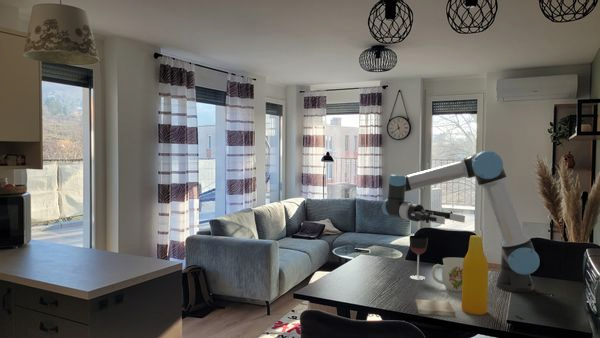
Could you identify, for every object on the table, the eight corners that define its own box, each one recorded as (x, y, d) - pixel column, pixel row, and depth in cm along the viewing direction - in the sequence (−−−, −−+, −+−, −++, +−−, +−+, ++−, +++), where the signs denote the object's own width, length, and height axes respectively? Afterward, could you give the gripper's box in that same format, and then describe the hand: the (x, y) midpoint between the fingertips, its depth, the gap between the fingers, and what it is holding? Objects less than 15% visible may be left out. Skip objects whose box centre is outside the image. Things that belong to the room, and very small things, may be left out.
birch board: (448, 305, 172) (448, 301, 172) (455, 316, 160) (455, 312, 160) (415, 303, 174) (415, 299, 174) (419, 313, 162) (419, 309, 162)
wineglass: (427, 280, 206) (428, 238, 206) (409, 279, 208) (409, 238, 207) (426, 275, 214) (427, 235, 213) (408, 274, 216) (409, 235, 215)
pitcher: (428, 284, 199) (429, 255, 199) (468, 286, 198) (469, 256, 198) (434, 292, 188) (435, 261, 188) (476, 293, 187) (477, 262, 187)
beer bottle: (461, 313, 163) (463, 237, 162) (461, 305, 172) (463, 233, 171) (487, 316, 160) (489, 239, 159) (486, 308, 169) (488, 235, 168)
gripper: (429, 219, 198) (471, 227, 181) (392, 221, 183) (434, 231, 166) (430, 202, 198) (472, 209, 181) (393, 204, 183) (436, 211, 166)
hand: (454, 220), depth 173 cm, fingers open, 13 cm apart
